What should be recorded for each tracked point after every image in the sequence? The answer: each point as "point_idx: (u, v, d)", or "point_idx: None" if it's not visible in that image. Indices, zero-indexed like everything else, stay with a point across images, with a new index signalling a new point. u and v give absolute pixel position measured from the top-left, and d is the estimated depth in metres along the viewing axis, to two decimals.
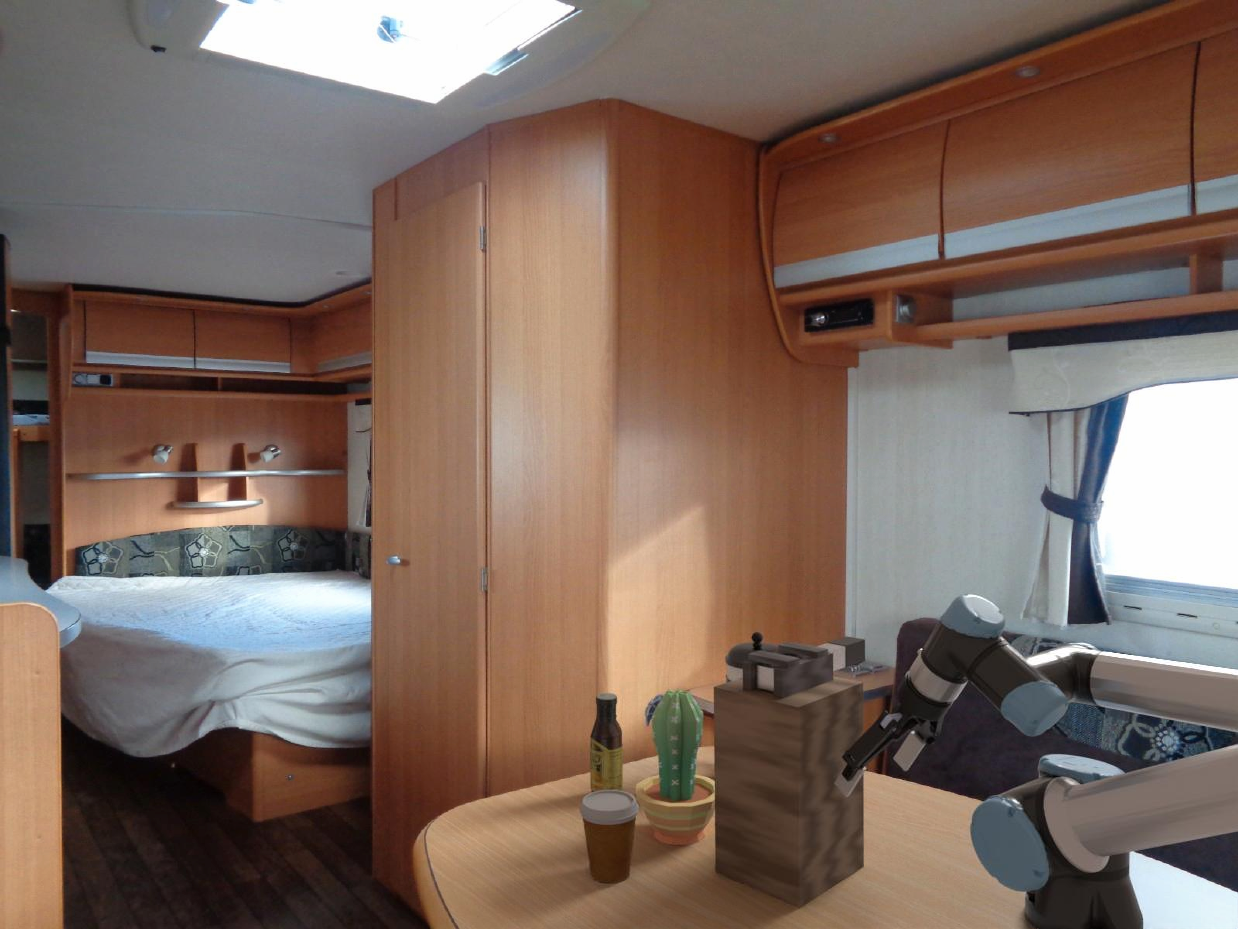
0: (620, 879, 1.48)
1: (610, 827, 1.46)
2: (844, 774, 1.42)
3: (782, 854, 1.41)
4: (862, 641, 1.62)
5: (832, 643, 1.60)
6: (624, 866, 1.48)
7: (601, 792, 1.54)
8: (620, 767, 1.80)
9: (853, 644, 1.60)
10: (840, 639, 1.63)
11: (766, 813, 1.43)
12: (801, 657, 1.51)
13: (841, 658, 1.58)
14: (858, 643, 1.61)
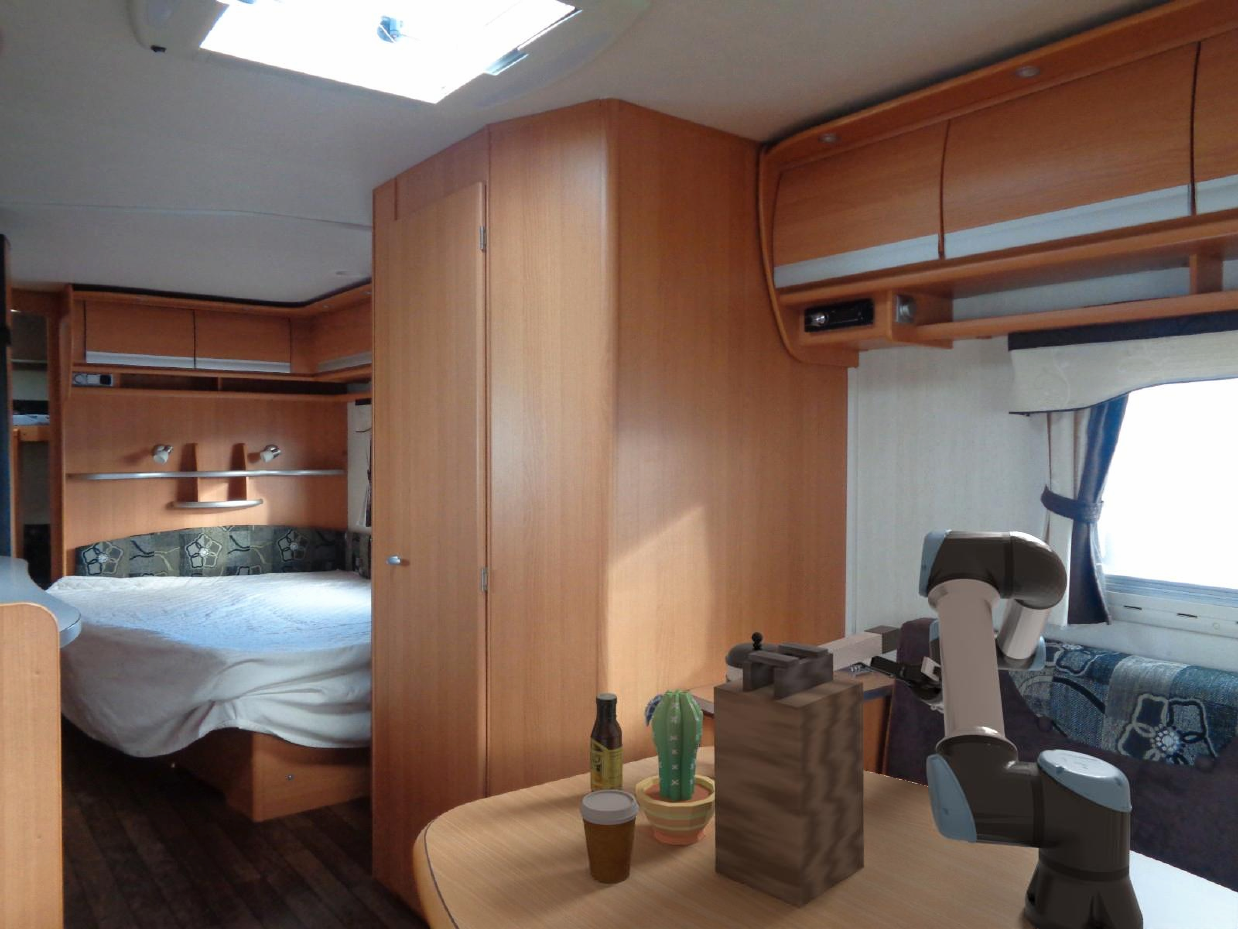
0: (620, 879, 1.48)
1: (610, 827, 1.46)
2: None
3: (782, 854, 1.41)
4: (897, 629, 1.71)
5: (869, 631, 1.69)
6: (624, 866, 1.48)
7: (601, 792, 1.54)
8: (620, 767, 1.80)
9: (889, 632, 1.69)
10: (876, 628, 1.71)
11: (766, 813, 1.43)
12: (842, 644, 1.60)
13: (878, 645, 1.66)
14: (893, 631, 1.70)
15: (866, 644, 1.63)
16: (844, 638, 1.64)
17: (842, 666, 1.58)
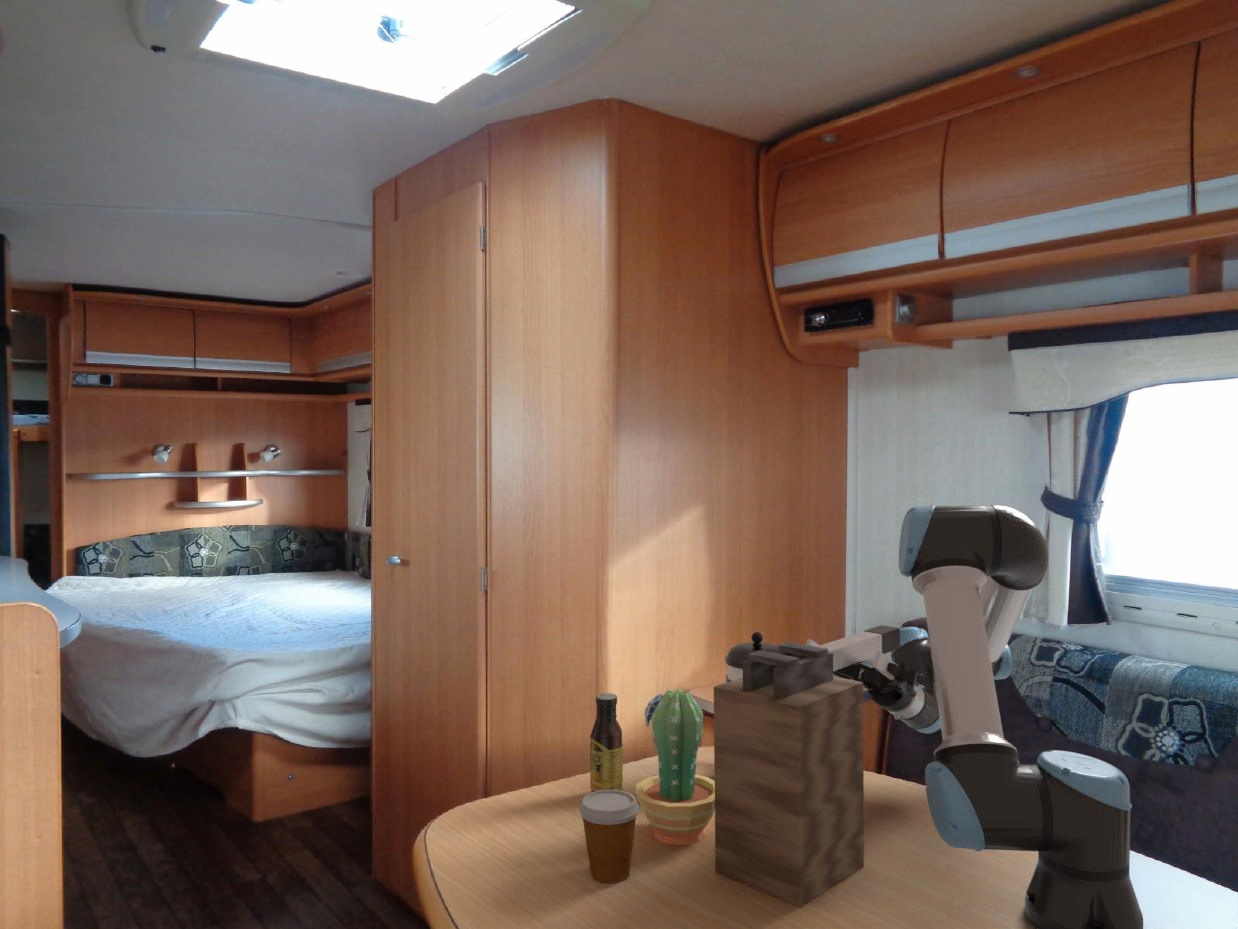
0: (620, 879, 1.48)
1: (610, 827, 1.46)
2: None
3: (782, 854, 1.41)
4: (897, 629, 1.71)
5: (869, 631, 1.69)
6: (624, 866, 1.48)
7: (601, 792, 1.54)
8: (620, 767, 1.80)
9: (889, 632, 1.69)
10: (876, 628, 1.71)
11: (766, 813, 1.43)
12: (842, 644, 1.60)
13: (878, 645, 1.66)
14: (893, 631, 1.70)
15: (866, 644, 1.63)
16: (844, 638, 1.64)
17: (842, 666, 1.58)
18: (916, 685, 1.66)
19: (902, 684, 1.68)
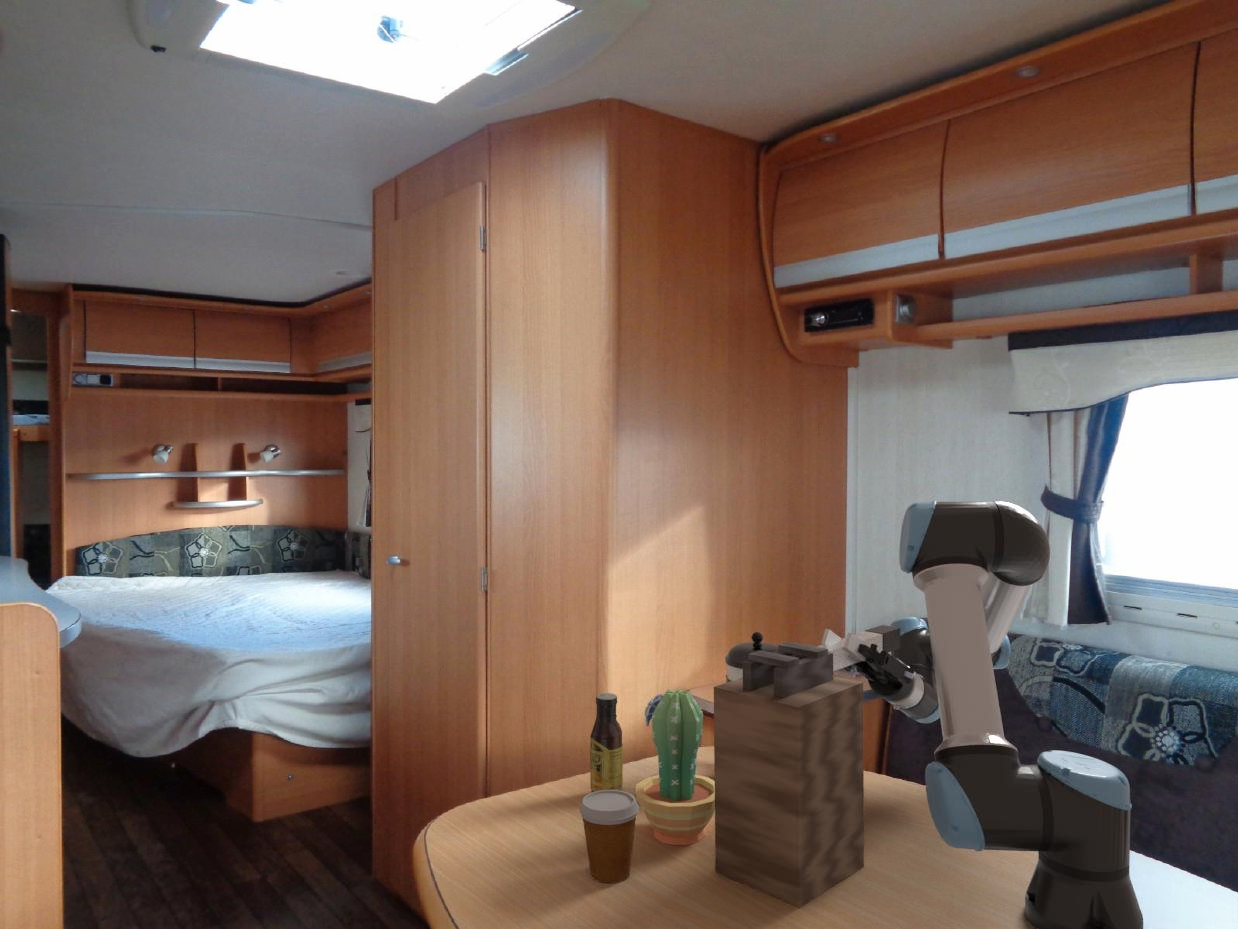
0: (620, 879, 1.48)
1: (610, 827, 1.46)
2: None
3: (782, 854, 1.41)
4: (898, 629, 1.71)
5: (869, 631, 1.69)
6: (624, 866, 1.48)
7: (601, 792, 1.54)
8: (620, 767, 1.80)
9: (889, 632, 1.69)
10: (877, 627, 1.72)
11: (766, 813, 1.43)
12: (842, 644, 1.60)
13: (879, 645, 1.66)
14: (894, 631, 1.70)
15: (866, 643, 1.63)
16: (845, 638, 1.64)
17: (843, 666, 1.58)
18: (909, 671, 1.65)
19: None
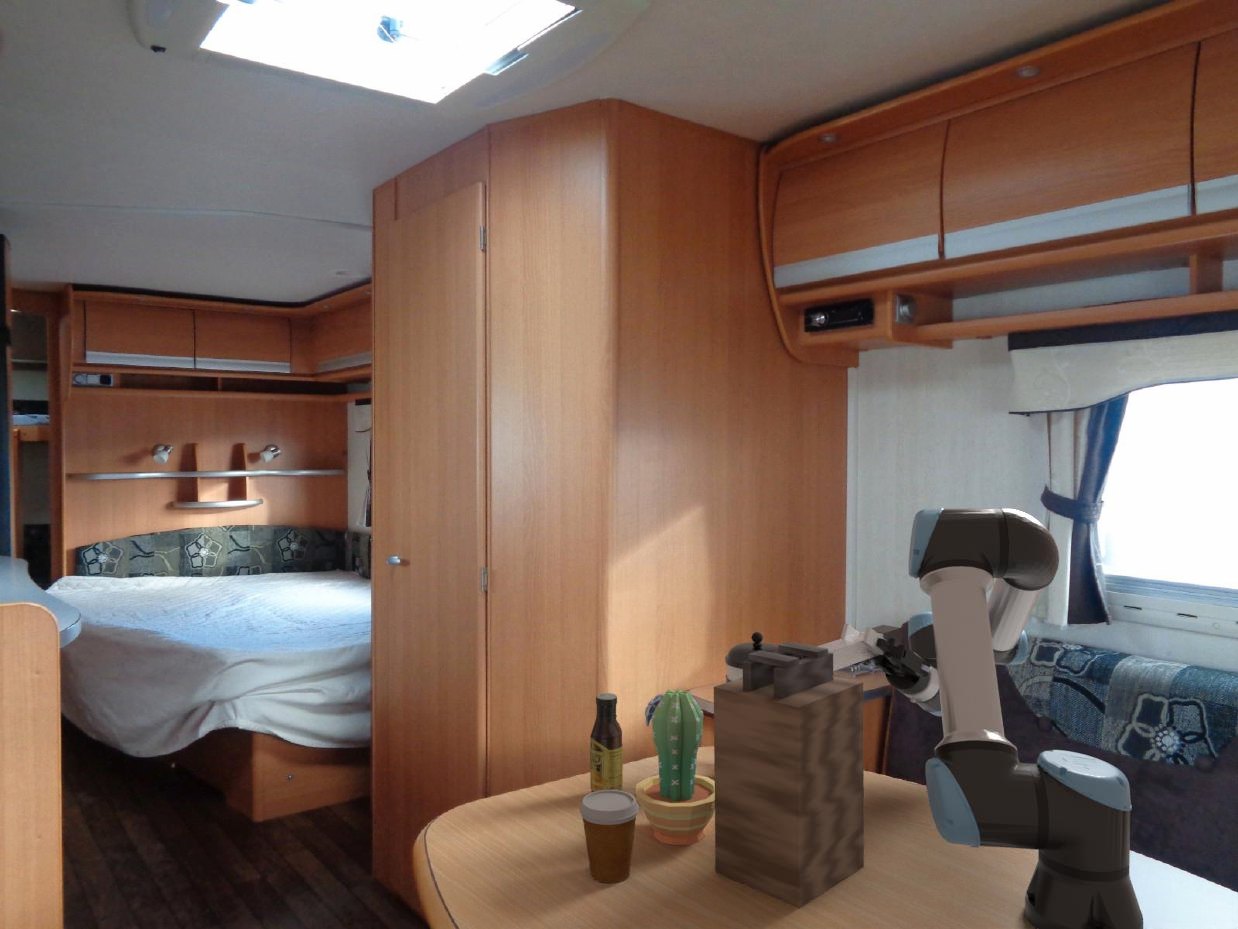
0: (620, 879, 1.48)
1: (610, 827, 1.46)
2: None
3: (782, 854, 1.41)
4: (898, 629, 1.71)
5: None
6: (624, 866, 1.48)
7: (601, 792, 1.54)
8: (620, 767, 1.80)
9: (890, 632, 1.69)
10: (877, 627, 1.72)
11: (766, 813, 1.43)
12: (843, 643, 1.60)
13: None
14: (895, 631, 1.70)
15: None
16: (845, 638, 1.64)
17: (843, 666, 1.58)
18: (925, 664, 1.70)
19: None
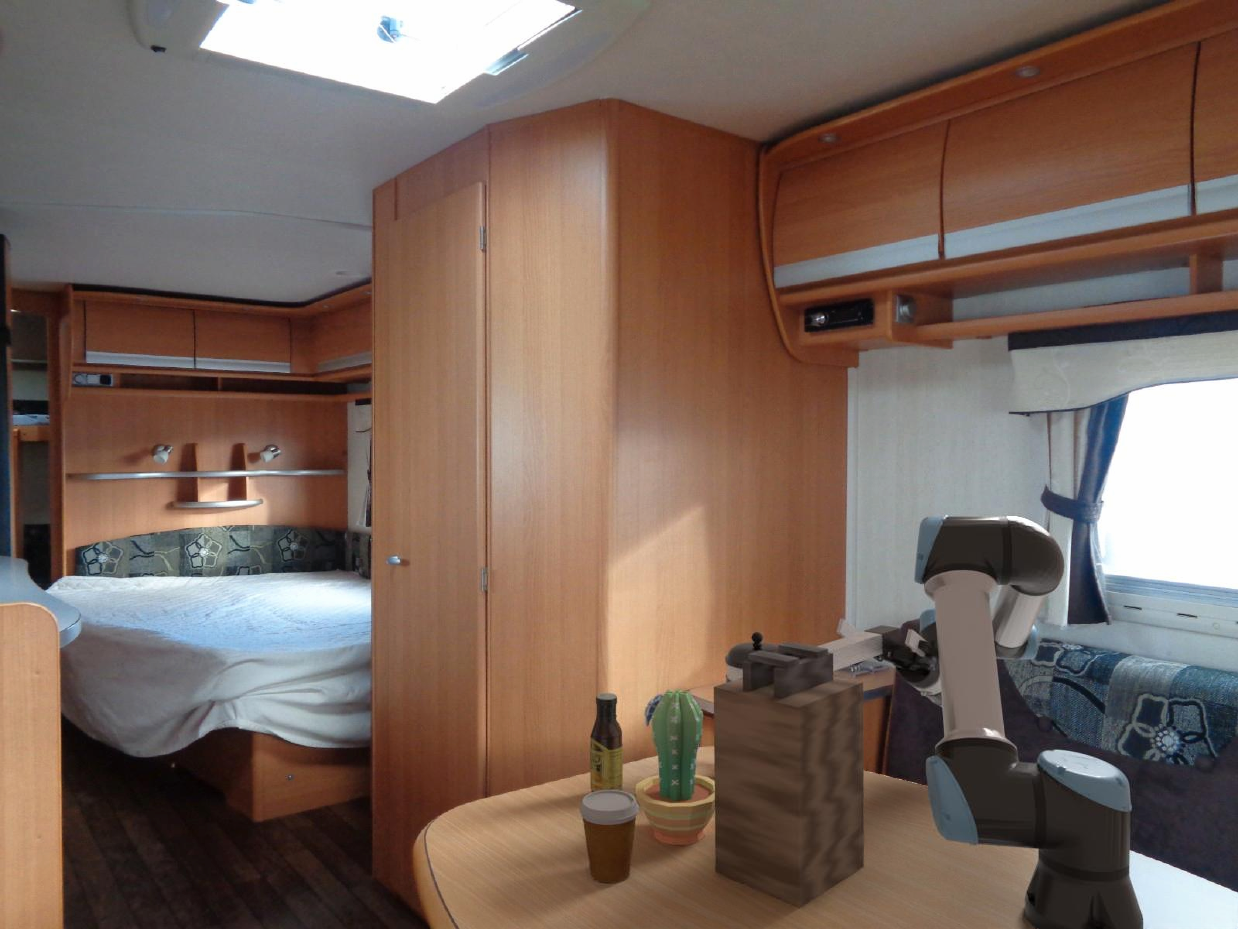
0: (620, 879, 1.48)
1: (610, 827, 1.46)
2: None
3: (782, 854, 1.41)
4: (897, 629, 1.71)
5: (869, 631, 1.69)
6: (624, 866, 1.48)
7: (601, 792, 1.54)
8: (620, 767, 1.80)
9: (889, 632, 1.69)
10: (876, 628, 1.71)
11: (766, 813, 1.43)
12: (842, 644, 1.60)
13: (878, 645, 1.66)
14: (893, 631, 1.70)
15: (866, 644, 1.63)
16: (844, 638, 1.64)
17: (842, 666, 1.58)
18: None
19: (930, 661, 1.75)
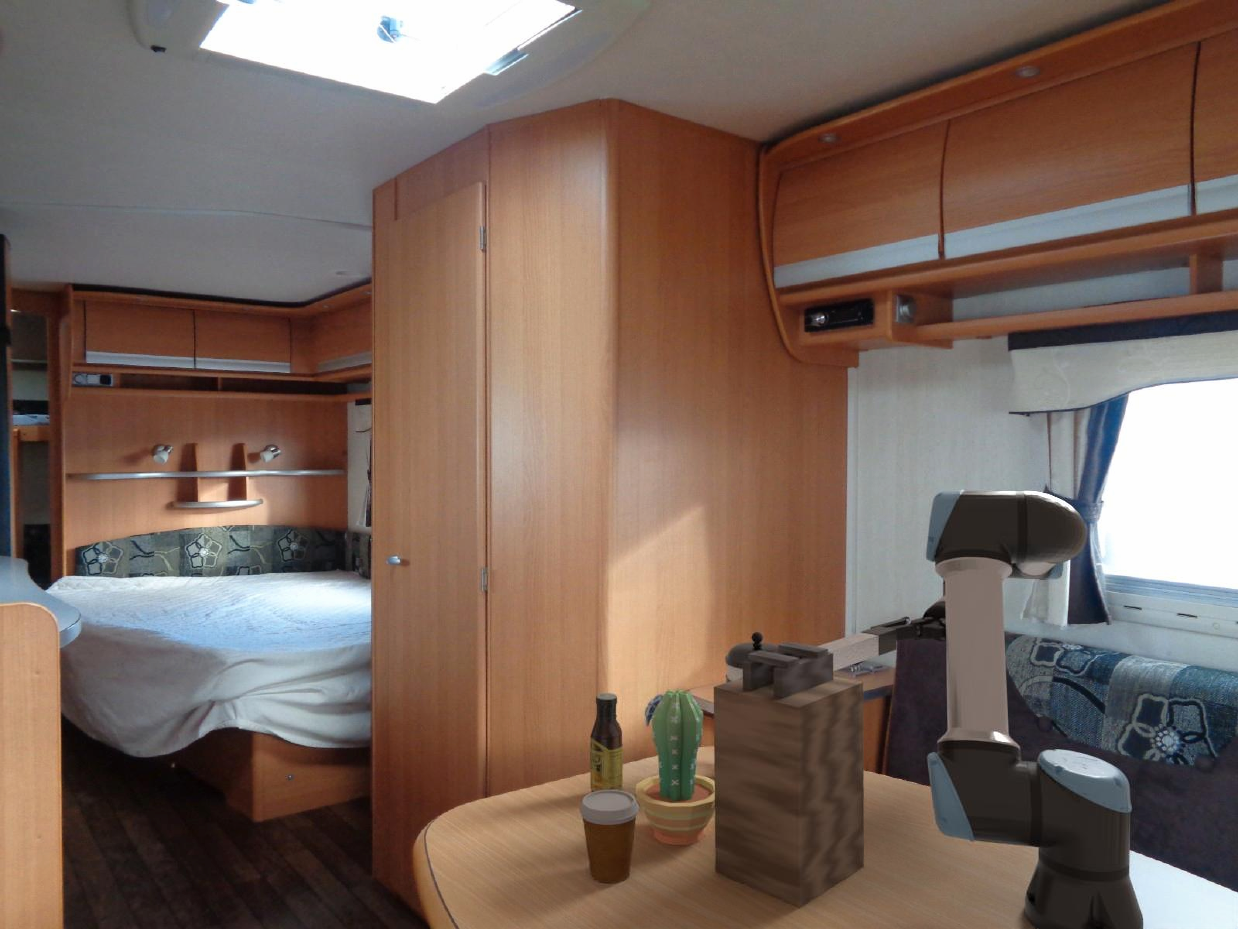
0: (620, 879, 1.48)
1: (610, 827, 1.46)
2: None
3: (782, 854, 1.41)
4: (894, 631, 1.70)
5: (866, 632, 1.68)
6: (624, 866, 1.48)
7: (601, 792, 1.54)
8: (620, 767, 1.80)
9: (886, 633, 1.68)
10: (873, 629, 1.71)
11: (766, 813, 1.43)
12: (838, 645, 1.59)
13: (875, 646, 1.65)
14: (890, 632, 1.69)
15: (862, 645, 1.62)
16: (840, 639, 1.63)
17: (838, 667, 1.57)
18: None
19: None
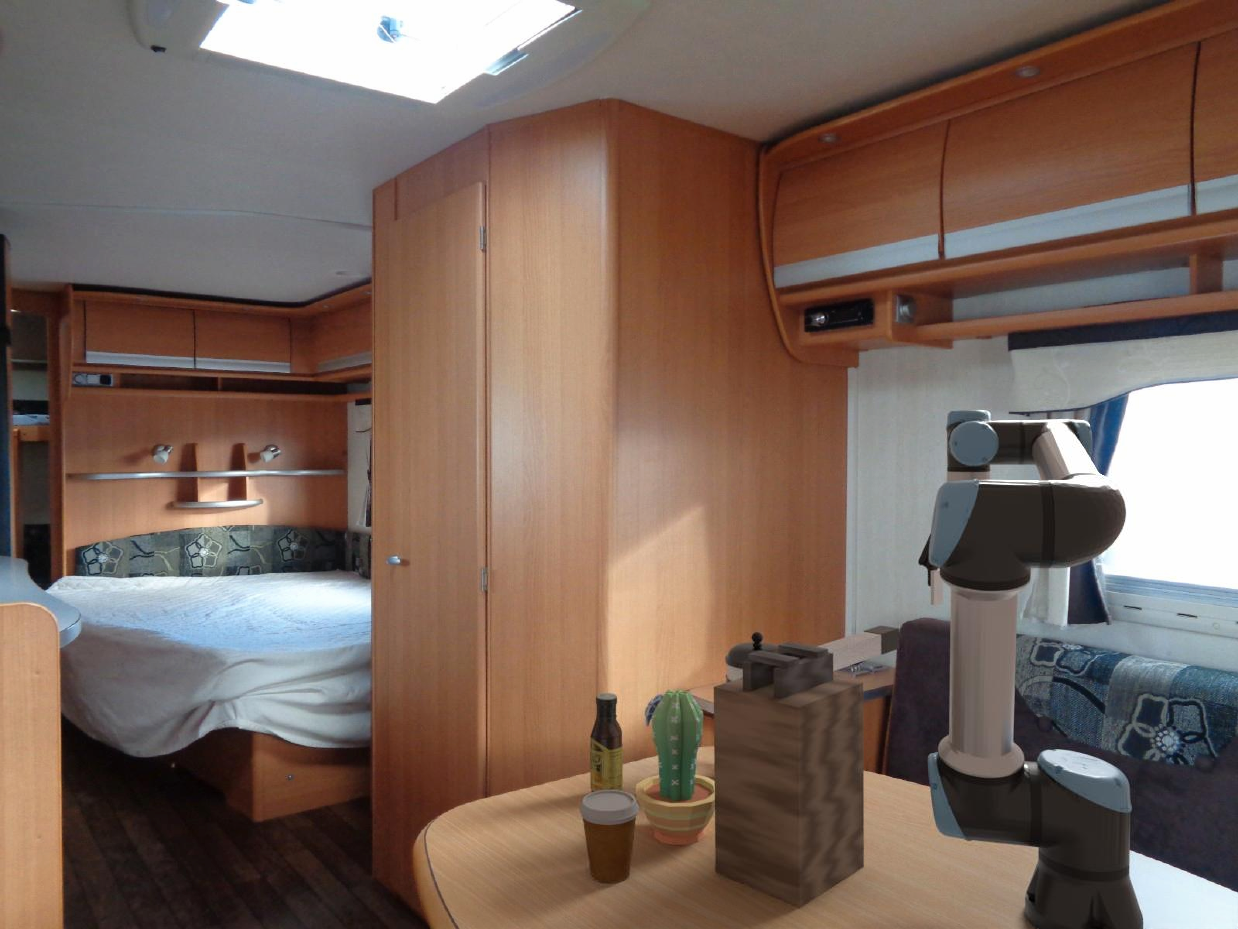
0: (620, 879, 1.48)
1: (610, 827, 1.46)
2: None
3: (782, 854, 1.41)
4: (896, 630, 1.70)
5: (868, 631, 1.69)
6: (624, 866, 1.48)
7: (601, 792, 1.54)
8: (620, 767, 1.80)
9: (888, 632, 1.68)
10: (875, 628, 1.71)
11: (766, 813, 1.43)
12: (841, 644, 1.60)
13: (877, 646, 1.66)
14: (893, 632, 1.70)
15: (865, 644, 1.63)
16: (843, 638, 1.64)
17: (841, 666, 1.58)
18: None
19: None
